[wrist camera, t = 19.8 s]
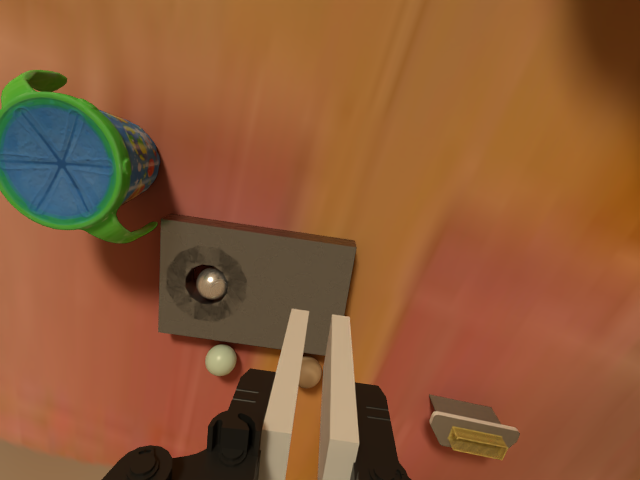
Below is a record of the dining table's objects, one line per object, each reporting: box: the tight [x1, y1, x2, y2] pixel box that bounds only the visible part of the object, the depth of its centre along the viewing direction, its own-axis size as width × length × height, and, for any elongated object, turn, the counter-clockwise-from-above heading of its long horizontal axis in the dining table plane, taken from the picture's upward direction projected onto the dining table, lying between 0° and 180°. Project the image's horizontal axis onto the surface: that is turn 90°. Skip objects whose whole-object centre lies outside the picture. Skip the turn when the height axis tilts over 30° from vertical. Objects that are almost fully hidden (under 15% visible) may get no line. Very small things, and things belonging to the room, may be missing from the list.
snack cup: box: [0, 70, 160, 243], centre depth 32 cm, size 16×10×10 cm
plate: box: [158, 214, 356, 356], centre depth 39 cm, size 20×13×2 cm, turn 82°
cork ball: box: [299, 356, 322, 388], centre depth 42 cm, size 4×4×4 cm
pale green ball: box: [205, 344, 237, 376], centre depth 42 cm, size 4×4×4 cm
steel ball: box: [196, 267, 228, 300], centre depth 39 cm, size 4×4×4 cm
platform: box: [429, 394, 520, 460], centre depth 42 cm, size 12×18×7 cm, turn 77°
